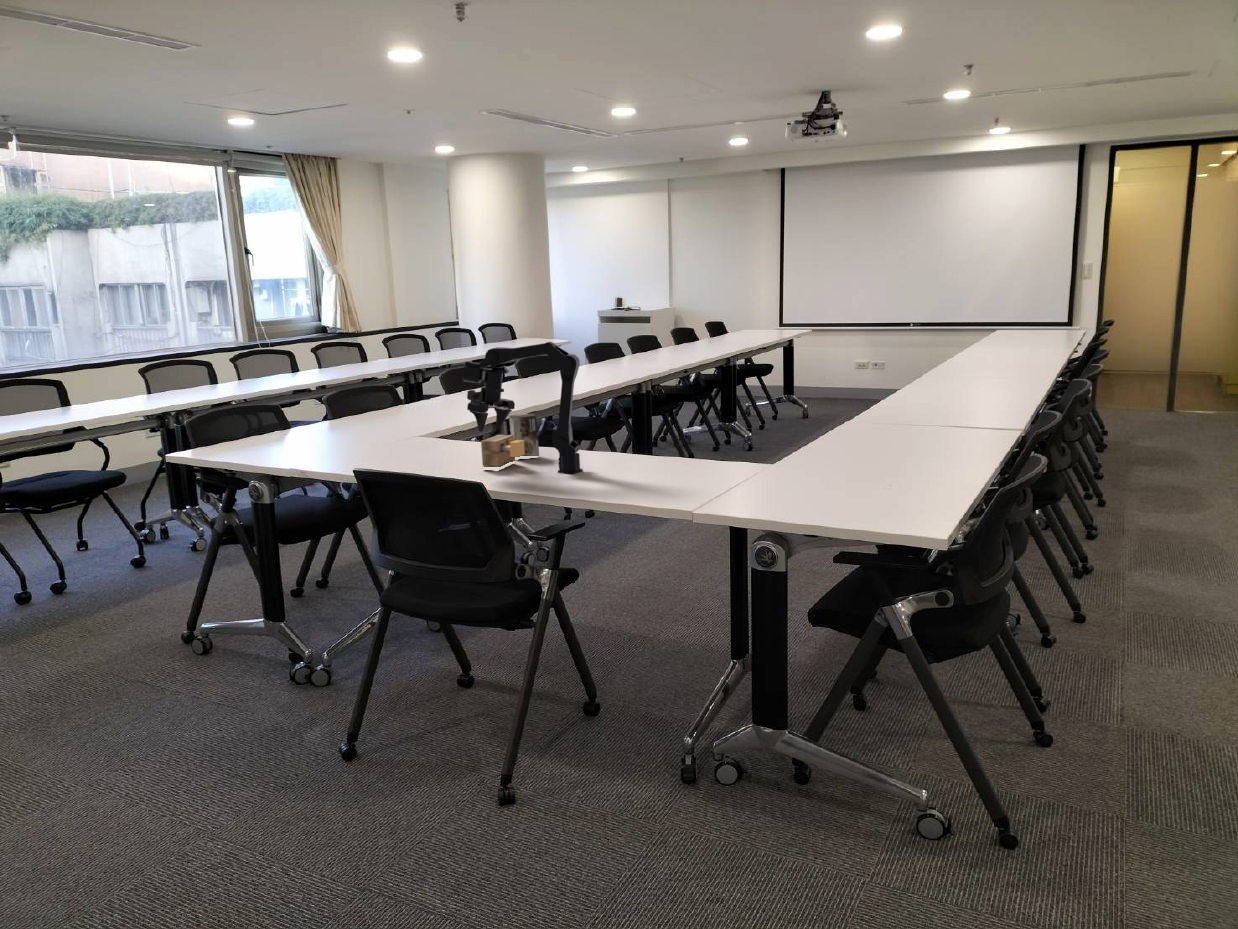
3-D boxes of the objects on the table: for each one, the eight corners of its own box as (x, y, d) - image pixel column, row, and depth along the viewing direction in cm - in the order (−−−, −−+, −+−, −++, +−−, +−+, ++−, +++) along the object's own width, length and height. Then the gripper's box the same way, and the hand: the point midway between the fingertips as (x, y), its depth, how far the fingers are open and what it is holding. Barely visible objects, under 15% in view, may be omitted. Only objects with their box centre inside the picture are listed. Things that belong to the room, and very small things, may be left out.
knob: (524, 454, 305) (523, 440, 304) (518, 457, 301) (517, 442, 300) (506, 453, 308) (505, 439, 307) (499, 456, 303) (498, 442, 302)
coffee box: (535, 455, 330) (532, 413, 327) (539, 458, 324) (537, 415, 321) (511, 458, 327) (508, 415, 324) (515, 460, 321) (512, 417, 318)
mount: (517, 464, 314) (516, 435, 312) (501, 471, 302) (499, 441, 300) (500, 463, 317) (498, 434, 315) (483, 470, 305) (481, 441, 303)
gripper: (492, 380, 307) (488, 423, 310) (456, 382, 291) (453, 428, 294) (517, 385, 302) (513, 429, 305) (482, 388, 286) (478, 434, 289)
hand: (489, 430), depth 298 cm, fingers open, 9 cm apart
